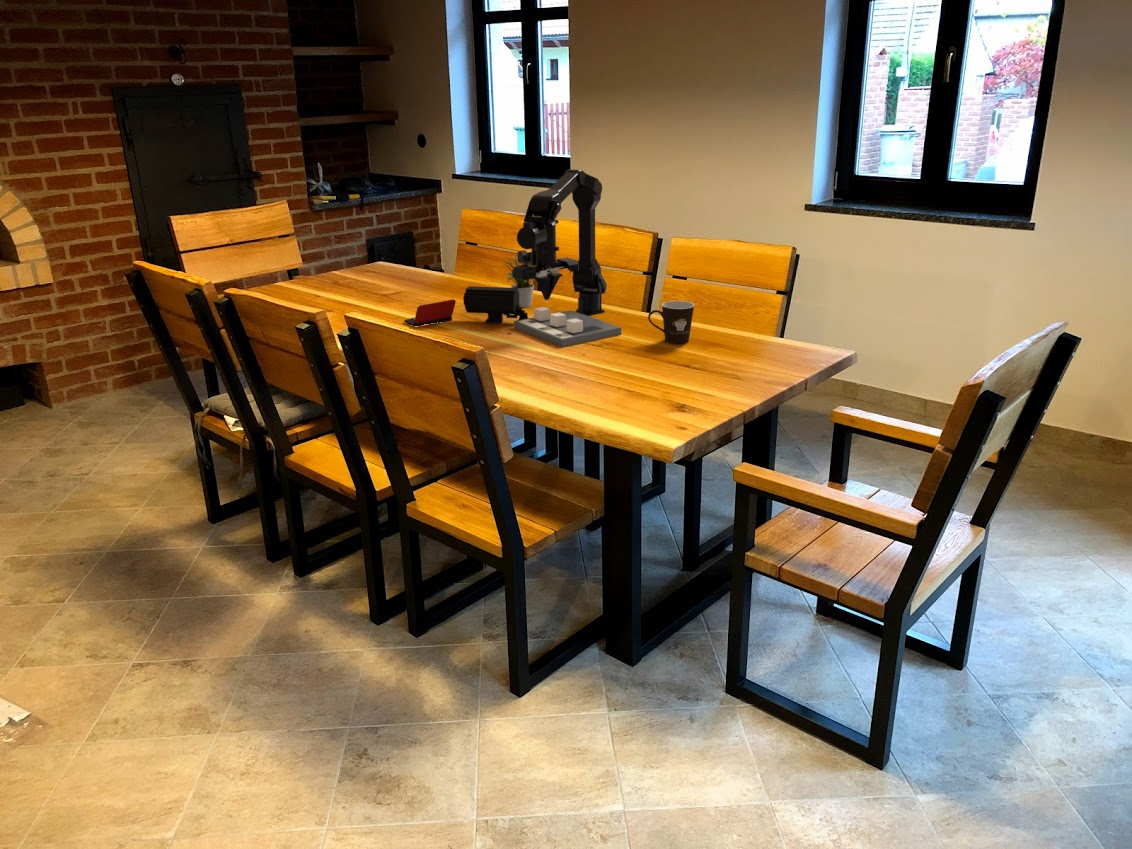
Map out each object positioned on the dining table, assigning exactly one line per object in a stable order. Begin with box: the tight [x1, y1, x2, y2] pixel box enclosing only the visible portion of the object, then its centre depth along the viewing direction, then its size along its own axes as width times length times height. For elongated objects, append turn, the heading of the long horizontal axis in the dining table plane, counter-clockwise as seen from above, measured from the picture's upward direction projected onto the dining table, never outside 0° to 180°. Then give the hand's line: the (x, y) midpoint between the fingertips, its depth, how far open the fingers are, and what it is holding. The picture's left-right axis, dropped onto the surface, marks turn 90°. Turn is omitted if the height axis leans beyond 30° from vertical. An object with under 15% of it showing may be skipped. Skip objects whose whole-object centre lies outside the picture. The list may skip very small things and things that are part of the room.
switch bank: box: [513, 309, 622, 348], centre depth 256 cm, size 20×24×2 cm
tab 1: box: [533, 306, 551, 321], centre depth 259 cm, size 3×3×3 cm
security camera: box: [462, 285, 529, 324], centre depth 264 cm, size 7×18×10 cm, turn 79°
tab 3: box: [567, 318, 583, 333], centre depth 247 cm, size 3×3×3 cm
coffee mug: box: [647, 300, 695, 345], centre depth 244 cm, size 12×9×10 cm
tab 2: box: [550, 311, 566, 327], centre depth 253 cm, size 3×3×3 cm
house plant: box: [501, 255, 535, 309], centre depth 281 cm, size 14×14×16 cm
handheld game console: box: [403, 299, 457, 327], centre depth 265 cm, size 12×11×7 cm
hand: (546, 299), depth 250 cm, fingers closed
